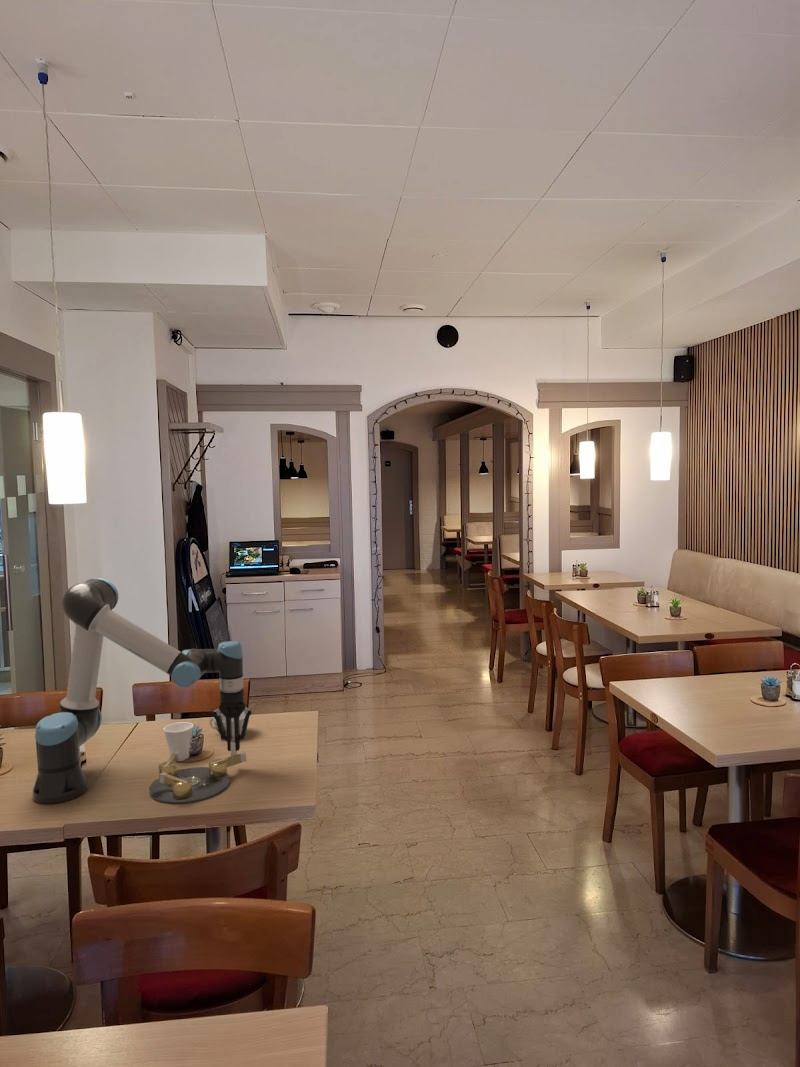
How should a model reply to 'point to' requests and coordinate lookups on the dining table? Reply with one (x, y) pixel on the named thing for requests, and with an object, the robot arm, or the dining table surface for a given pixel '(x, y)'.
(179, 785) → the knob front
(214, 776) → the knob right
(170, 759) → the knob left
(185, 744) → the cup
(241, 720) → the teacup
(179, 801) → the plate
